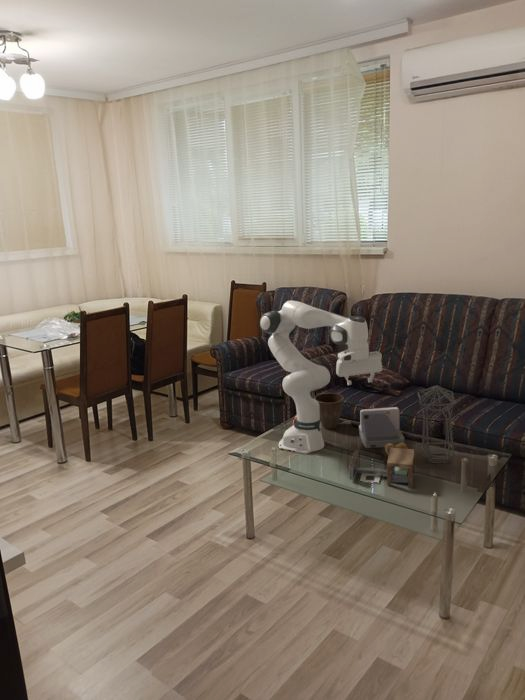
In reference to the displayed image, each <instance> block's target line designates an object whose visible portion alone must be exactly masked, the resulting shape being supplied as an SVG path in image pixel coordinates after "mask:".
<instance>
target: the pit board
mask: <svg viewBox="0 0 525 700" xmlns="http://www.w3.org/2000/svg"><path fill="white" fill-rule="evenodd" d="M370 468H371V467H370ZM371 469H375V468H373V467H372V468H371ZM381 476H382V475H378V474H367V473H361V475H360V479H359V482H360V481H368V482H377V483H376V484H378V483H379V484H380V482H379V481H381V478H382V477H381Z"/></svg>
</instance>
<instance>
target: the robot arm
mask: <svg viewBox="0 0 525 700" xmlns="http://www.w3.org/2000/svg"><path fill="white" fill-rule="evenodd" d="M259 327H260V329H261V331H262V332H263V333H265V334H269V335H270V336H269V338H268V339H267V340H268V341H267V345H268V347H269V350H270V352H271V353H272V355H273V357H274V358H275V359H276V361H277V362H278V363H279V365H280V366H281V368H282V369H283V370H284V371H285V372H289V373H290V374H287V375H286V376H285V377H284V378H283V379H282V383H281V384H282V389H283V391H284V392H285V394H286V395H288V396H290V397H291V398H292V400H293V401H294V404H295V409H296V415H295V416H293V421H292V426H290V427H289V428H287V429H286V430H285V432H284V433H283V436H282V438H281V439H280V440H279V442H278V445H277V446H279V448H283V449H287V450H291V451H290V452H293V451H295V452H294V453H298V454H304V455H305V454H309V453H312V452H317V451H320V450H322V449H323V448H324V447H325V441H324V439H323V434H322V427H323V426H322V423H321V418H320V407H319V403H318V401H317V400H315V398H313V397H312V396H311V392H313V391H317V390H320V389H322V388H324V387H326V386H327V385H328V384H329V383H330V381H331V374H330V373H331V372H330V371H329V369H328V368H327V367H326V366H324V365H319V364H316V363H314V362H312V361H311V360H309V359H308V358H306V357H305V356H303V354H302V353H301V352H300V351H299V350H298V348H297V347H296V346H295V345H294V343H293V342H292V340H291V339H290V338H291V337H293V336H294V335H295V332H297V330H298V328H299V327H300V328H302V329H309V330H310V329H315V328H317V329H318V328H322V327H330V329H329V337H330V340H331V341H332V343H334V344H335V345H338V346H339V345H347V349H345V350H343V351H340V352H338V353H337V358H338V359H337V361H336V365H335V374H336V375H337V376H338V377H339V378H343V377H344V379H345V380H346V383H347V386H352V385H353V384H352V380H349V378H350V376H359V375H367V374H370V376H369V377H367V382H368V383H373V379H374V377H375V374H376V373H381V372H382V371H383V363H382V358H383V356H382V355H383V354H382V353H381V352H380V351H378V350H376V351H370V349H369V348H370V347H369V344H368V339H369V329H368V323H367V321H366V319H365V318H364V316H363V317H362V316H359V315H353V316H349V317H347V316H344V315H341V314H338V313H335V312H332V311H327V310H324V309H320V308H318V307H315V306H312V305H310V304H307V303H304V302H302V301H297V300H287V301H285V303H283V305H282V307H281V309H280V310H279V311H277V310H272V311H268V312H266V313H263V314H262V315H261V316H260V319H259ZM280 445H281V446H280ZM279 448H278V449H279ZM287 450H286V451H287Z"/></svg>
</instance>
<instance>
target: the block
mask: <svg viewBox="0 0 525 700" xmlns="http://www.w3.org/2000/svg"><path fill="white" fill-rule="evenodd" d="M394 475H406V476H408V468H403V467H395V470H394Z"/></svg>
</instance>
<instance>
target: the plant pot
mask: <svg viewBox="0 0 525 700" xmlns="http://www.w3.org/2000/svg"><path fill="white" fill-rule="evenodd" d="M314 399H315V400H317V401H318V403H319V407H320V418H321V426H322V427H323V429H326V428H327V430H333V429H336V428H337V427H338V425H339V422H340V418H341V414H342V410H343V405H344V395H342V394H339V393H333V392H324V393H320V394H319V393H318V394H317V395H315V396H314ZM336 426H337V427H336ZM335 427H336V428H335ZM332 428H333V429H332Z"/></svg>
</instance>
